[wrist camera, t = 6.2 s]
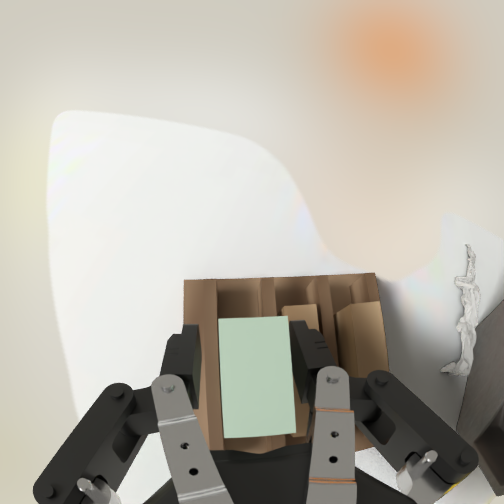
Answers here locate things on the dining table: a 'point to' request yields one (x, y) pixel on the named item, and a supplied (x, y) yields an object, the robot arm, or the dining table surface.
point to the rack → (263, 305)
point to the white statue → (466, 320)
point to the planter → (486, 400)
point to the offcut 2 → (361, 339)
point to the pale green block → (256, 377)
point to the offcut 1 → (301, 410)
